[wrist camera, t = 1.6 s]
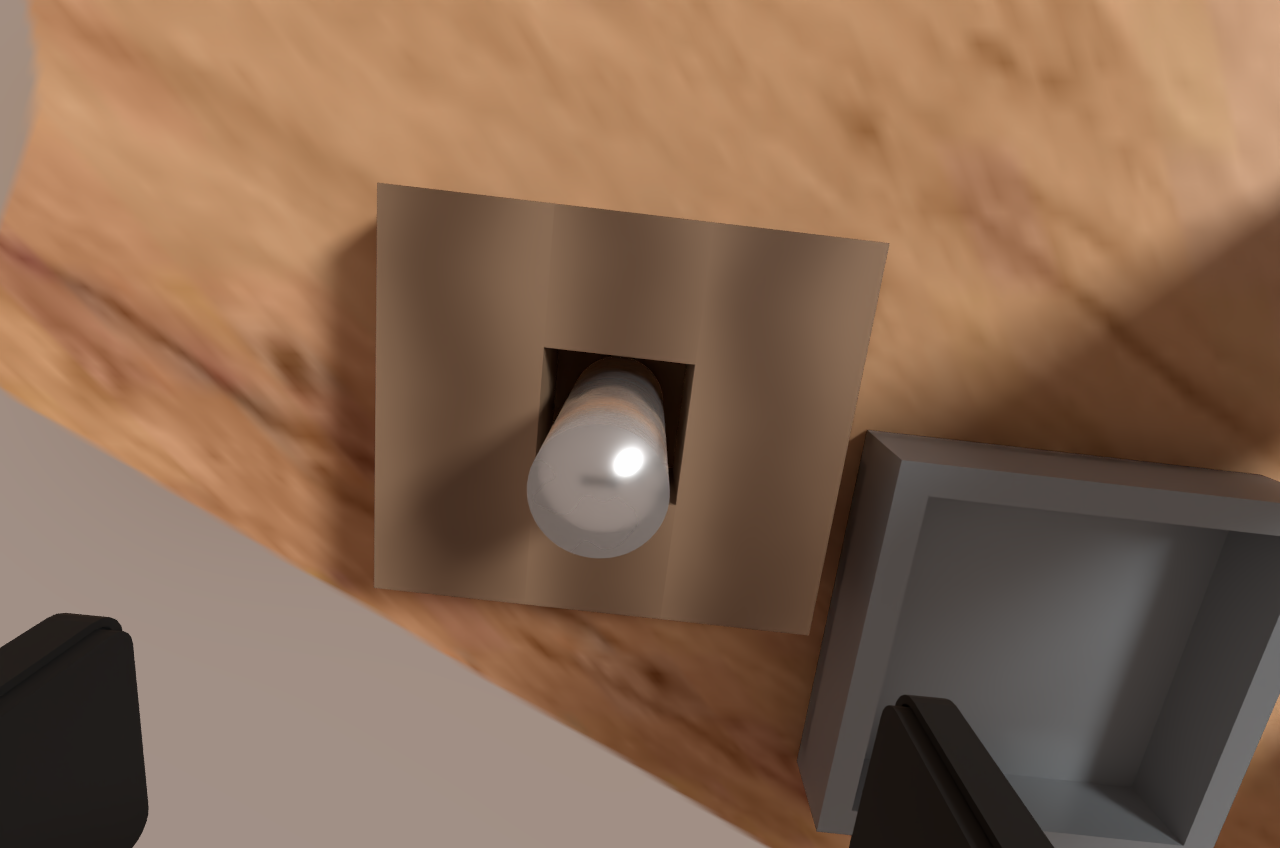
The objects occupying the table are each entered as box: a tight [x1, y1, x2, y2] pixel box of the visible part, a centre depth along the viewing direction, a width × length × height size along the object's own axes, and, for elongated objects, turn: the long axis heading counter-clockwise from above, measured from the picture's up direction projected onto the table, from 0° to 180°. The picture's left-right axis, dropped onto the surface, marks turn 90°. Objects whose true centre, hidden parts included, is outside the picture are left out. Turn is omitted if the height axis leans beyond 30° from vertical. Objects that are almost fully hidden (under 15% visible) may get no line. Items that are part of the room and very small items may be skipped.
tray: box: [797, 430, 1280, 848], centre depth 27 cm, size 16×16×4 cm
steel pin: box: [527, 356, 670, 558], centre depth 22 cm, size 4×4×10 cm
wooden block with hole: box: [374, 183, 889, 635], centre depth 24 cm, size 16×14×4 cm
